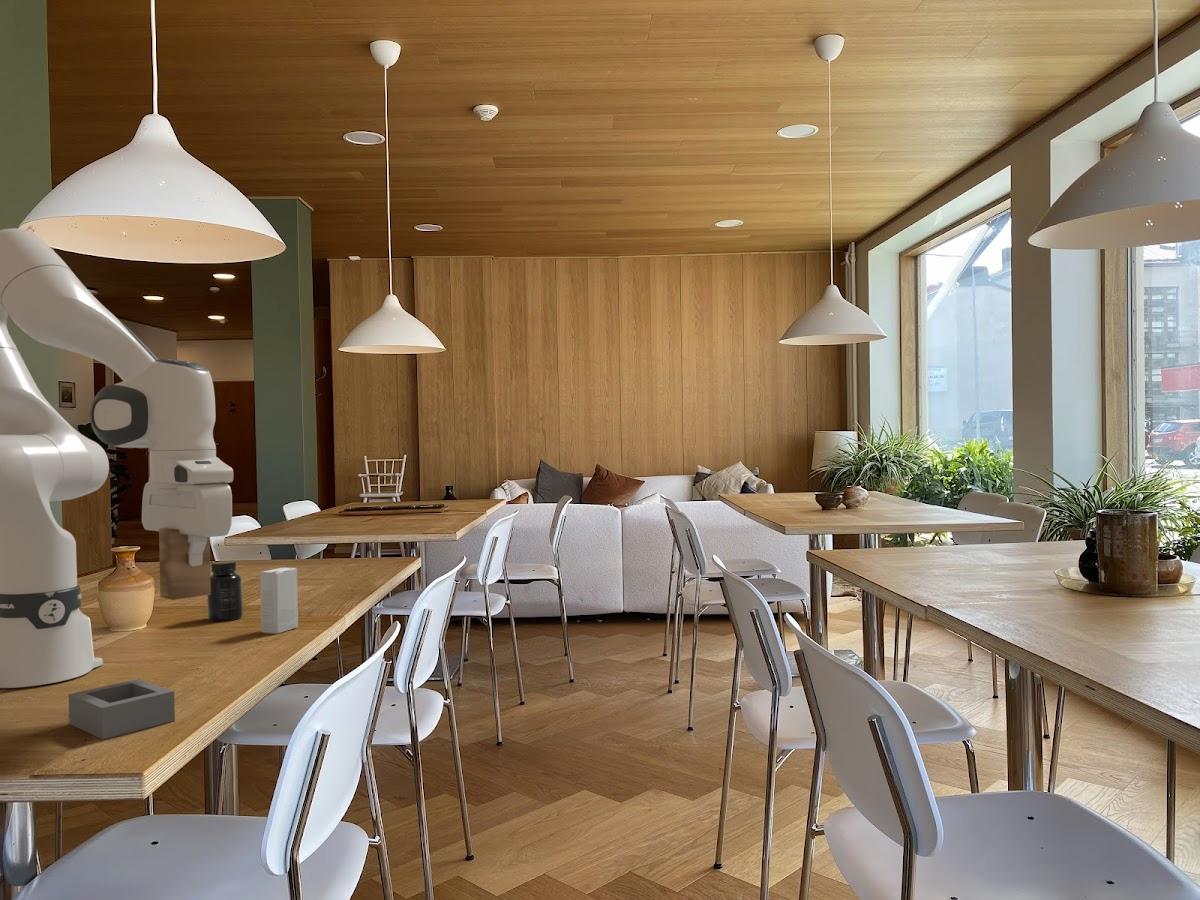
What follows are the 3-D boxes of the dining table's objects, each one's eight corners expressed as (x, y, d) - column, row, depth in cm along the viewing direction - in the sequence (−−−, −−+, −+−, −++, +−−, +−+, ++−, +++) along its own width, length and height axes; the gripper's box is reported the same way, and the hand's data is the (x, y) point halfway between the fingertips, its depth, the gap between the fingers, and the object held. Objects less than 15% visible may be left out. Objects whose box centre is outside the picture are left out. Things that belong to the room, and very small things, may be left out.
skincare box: (281, 626, 178) (280, 566, 178) (299, 628, 176) (298, 567, 176) (259, 633, 172) (258, 571, 172) (277, 634, 170) (276, 572, 170)
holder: (69, 724, 117) (68, 694, 117) (139, 707, 124) (138, 678, 124) (103, 739, 111) (102, 707, 111) (174, 720, 118) (174, 691, 118)
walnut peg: (160, 597, 128) (159, 528, 128) (197, 591, 133) (196, 525, 133) (173, 599, 126) (172, 530, 126) (210, 594, 130) (209, 526, 130)
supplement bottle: (247, 615, 191) (246, 559, 191) (235, 621, 184) (234, 564, 184) (215, 615, 190) (214, 560, 190) (202, 622, 184) (200, 565, 183)
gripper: (129, 469, 133) (130, 560, 133) (196, 471, 120) (198, 572, 121) (171, 468, 138) (172, 556, 138) (240, 470, 125) (241, 567, 126)
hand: (185, 564), depth 129 cm, fingers closed on walnut peg, 4 cm apart
